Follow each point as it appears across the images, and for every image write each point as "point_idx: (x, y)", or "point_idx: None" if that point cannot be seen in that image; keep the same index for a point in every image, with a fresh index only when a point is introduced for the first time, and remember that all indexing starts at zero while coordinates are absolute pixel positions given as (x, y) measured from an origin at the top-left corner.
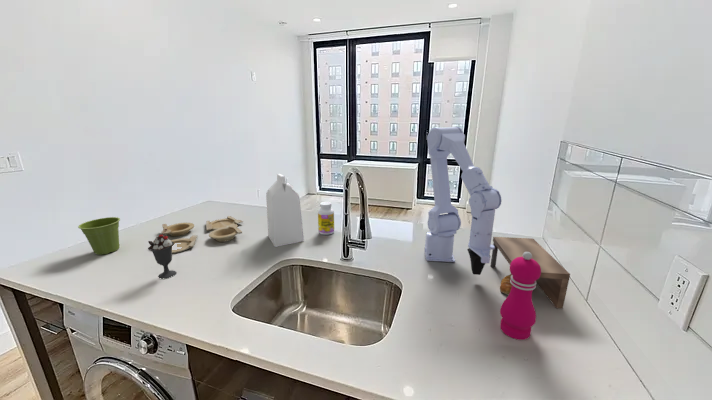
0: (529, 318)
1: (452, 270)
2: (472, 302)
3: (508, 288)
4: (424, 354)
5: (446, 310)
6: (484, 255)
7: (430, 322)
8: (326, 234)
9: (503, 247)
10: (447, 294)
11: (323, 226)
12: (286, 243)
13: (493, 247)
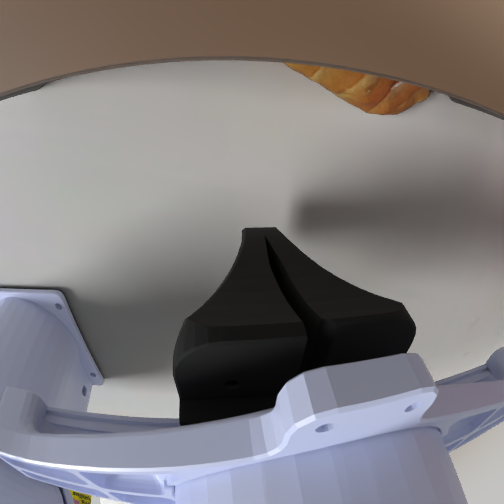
0: None
1: (151, 310)
2: (423, 265)
3: (423, 90)
4: None
5: (431, 334)
6: (497, 413)
7: (450, 356)
8: None
9: (86, 10)
10: None
11: (90, 497)
12: None
13: (432, 398)
